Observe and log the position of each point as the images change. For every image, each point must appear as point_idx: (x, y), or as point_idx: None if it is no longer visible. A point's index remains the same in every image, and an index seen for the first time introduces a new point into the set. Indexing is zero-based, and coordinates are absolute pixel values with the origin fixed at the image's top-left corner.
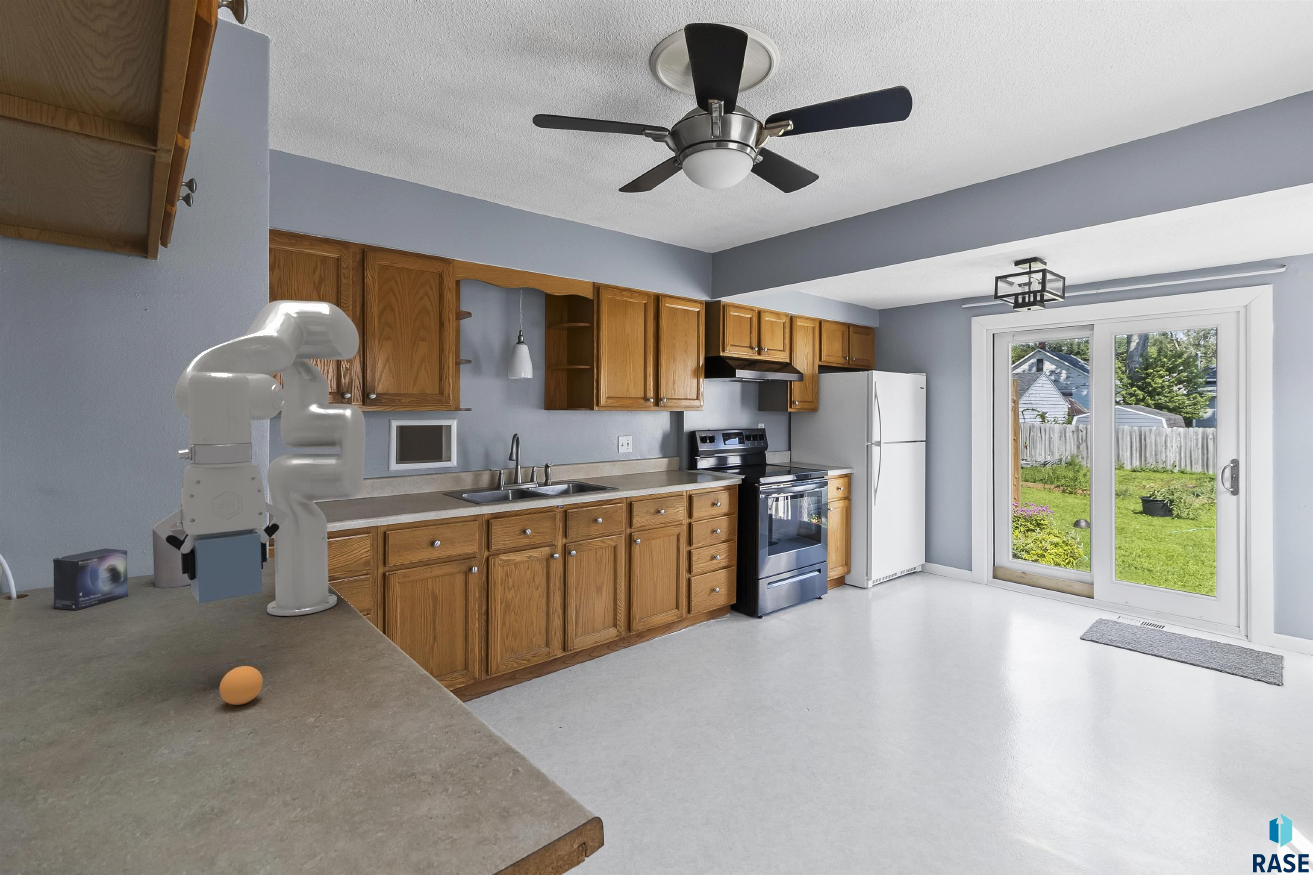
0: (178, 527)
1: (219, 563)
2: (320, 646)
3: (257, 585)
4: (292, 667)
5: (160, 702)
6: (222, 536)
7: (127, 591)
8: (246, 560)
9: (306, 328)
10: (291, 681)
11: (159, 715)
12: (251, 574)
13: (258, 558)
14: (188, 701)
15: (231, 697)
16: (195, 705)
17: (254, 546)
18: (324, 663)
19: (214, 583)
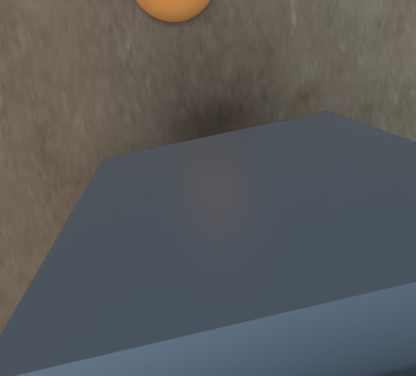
0: None
1: (317, 175)
2: (34, 246)
3: (116, 165)
4: (82, 146)
5: (311, 85)
6: None
7: None
8: (155, 210)
9: None
10: (76, 56)
11: (313, 10)
12: (135, 179)
13: (79, 225)
14: (267, 59)
15: None
16: (255, 26)
17: (82, 276)
18: (13, 135)
19: (300, 137)
